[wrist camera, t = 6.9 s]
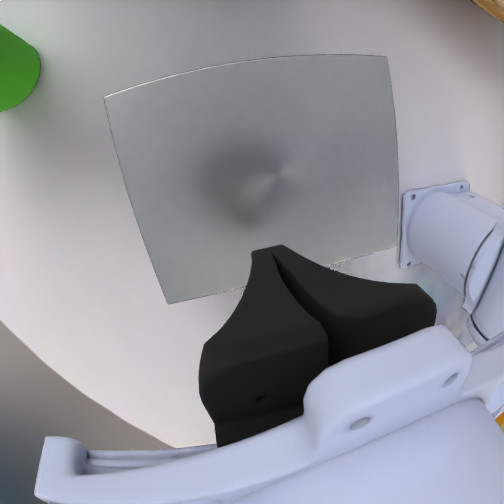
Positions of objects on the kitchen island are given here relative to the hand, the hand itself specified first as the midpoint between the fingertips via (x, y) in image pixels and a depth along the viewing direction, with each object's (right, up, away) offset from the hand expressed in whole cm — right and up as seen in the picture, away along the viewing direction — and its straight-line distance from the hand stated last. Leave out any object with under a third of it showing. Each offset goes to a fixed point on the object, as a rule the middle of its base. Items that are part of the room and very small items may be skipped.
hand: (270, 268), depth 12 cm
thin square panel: (0, +5, +2) cm, 5 cm away
